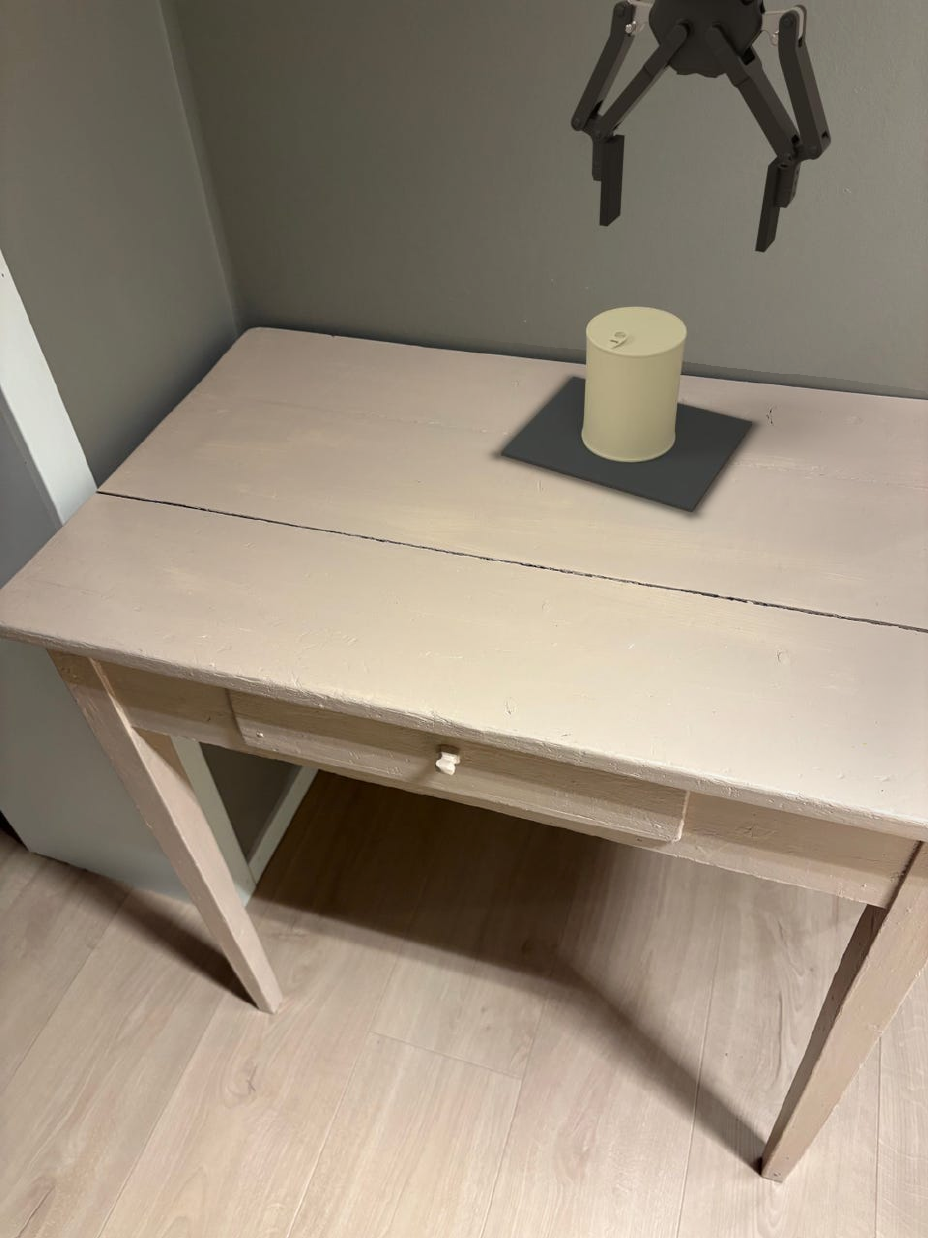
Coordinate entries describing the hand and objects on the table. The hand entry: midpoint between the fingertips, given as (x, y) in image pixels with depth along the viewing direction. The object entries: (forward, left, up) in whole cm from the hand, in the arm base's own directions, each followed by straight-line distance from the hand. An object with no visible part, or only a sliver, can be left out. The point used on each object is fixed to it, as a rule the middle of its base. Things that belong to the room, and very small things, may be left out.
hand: (684, 232), depth 80 cm
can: (+3, 0, -21) cm, 21 cm away
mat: (+3, 0, -21) cm, 21 cm away
